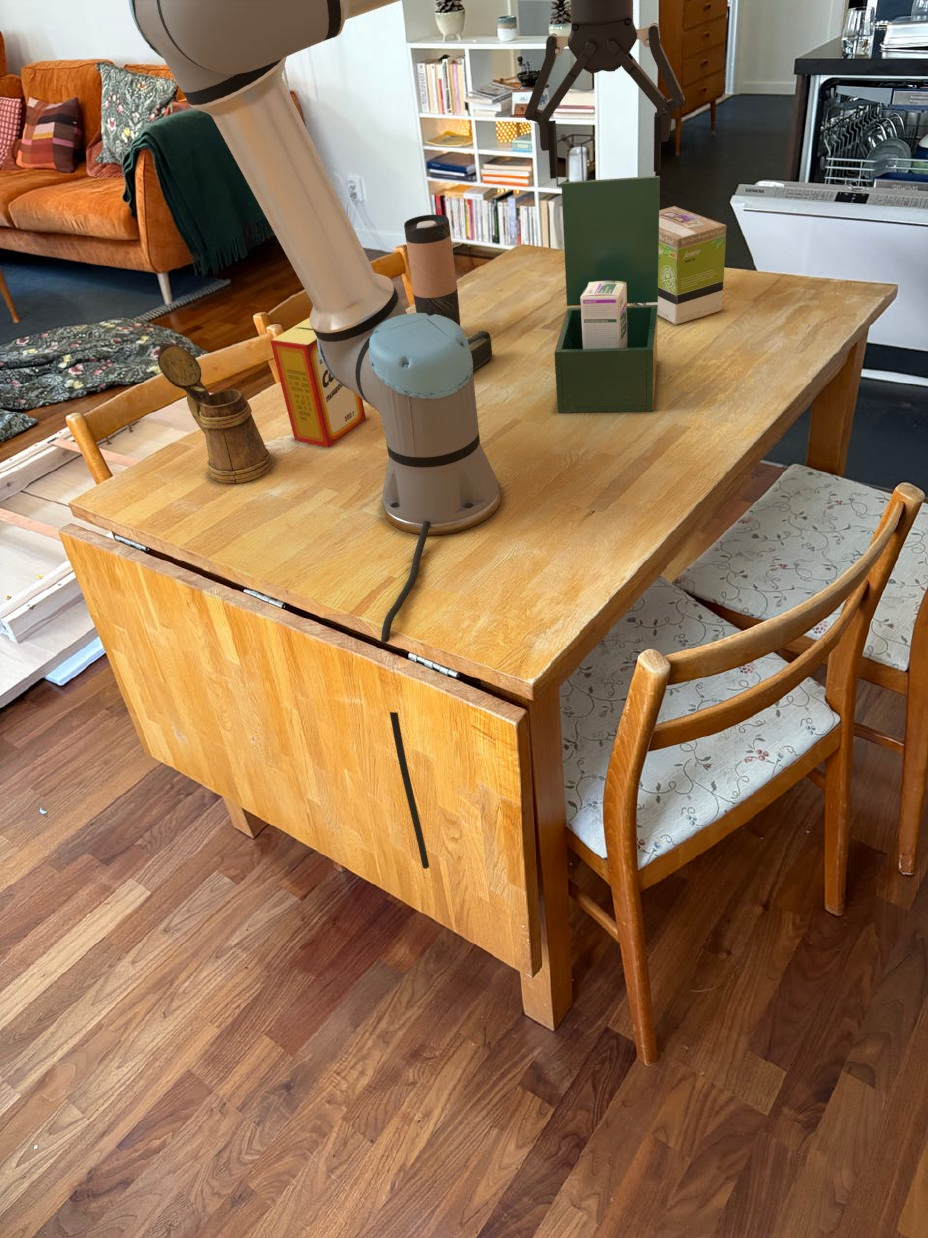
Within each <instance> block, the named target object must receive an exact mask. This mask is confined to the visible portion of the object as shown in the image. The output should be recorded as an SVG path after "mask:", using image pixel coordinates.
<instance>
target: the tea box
mask: <svg viewBox="0 0 928 1238" xmlns="http://www.w3.org/2000/svg"><path fill="white" fill-rule="evenodd" d="M727 226H728V225H727V224H724V223H721V222H718V221H716V220H713V219H711V218H708V217H705V216H702V215H700V214H696V213H694V212H691V211H689V210H686V209H683V208H680V207H678V206H676V205H673V206H669V207H666V208H663V209H659V263H658V302H654V303H636V304H637V305H658V316H660V317H661V318H663V319H665V320H667V321H668V322H670V323H672V324H673V325H675V326H676V325H680V324H683V323H686V322H689V321H693V320H696V319H700V318H703V317H705V316H709V315H712V314H714V313H718V312H721V311H722V310H723V299H724V281H725V280H724V279H725V262H726V261H725V260H726V245H727V244H726V243H727Z"/></svg>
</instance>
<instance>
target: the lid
mask: <svg viewBox="0 0 928 1238" xmlns="http://www.w3.org/2000/svg"><path fill="white" fill-rule="evenodd" d="M660 182H661V176H660V175H656V176H655V175H654V176H653V175H651V176H639V177H637V176H636V177H635V176H633V177H622V178H621V177H619V178H606V179H605V178H604V179H592V180H591V179H590V180H578V181H577V180H576V181H564V182H561V203H562V206H561V207H562V227H563V249H564V250H563V251H564V271H565V272H564V273H565V288H566V289H565V291H566V292H565V294H566V306H567V307H570V306H571V307H573V306H574V307H575V306H581V300H580V297H581V295H582V293H583V292H584V290H585V289H586V287H587V286H588V284H589V282H597V281H623V282H626V290H627V305H628V304H637V303H654V302H658V263H659V210H660V194H661V193H660V187H661V185H660V184H661V183H660Z"/></svg>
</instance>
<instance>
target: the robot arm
mask: <svg viewBox="0 0 928 1238" xmlns="http://www.w3.org/2000/svg"><path fill="white" fill-rule="evenodd" d="M400 1H401V0H128V6H129V10H130V14H131V17H132V20H133V23H134V24H135V26H136V29H137V31H138V33H139V34H140V36H141V37H142V39H143V40H144V42H145V43H146V44H147V45H148V46H149V48H150V49H151V50H152V51H153V52H154V53H155V54H156V55H157V56H159V57H160V58H161V59H163V60H164V62H165V64H166V65H167V67H168V69H169V71H170V73H171V74H172V76H173V78H174V80H175V81H176V84H177V86H178V87H179V89H180V91H181V93H182V94H183V96H184V98H185V100H186V101H187V104H188V105H189V107H191V108H192V109H194V110H197V111H200V112H203V113H206V114H208V115H210V116H211V118H212V119H213V122H214V123H215V125H216V127H217V129H218V131H219V132H220V135H221V136H222V138H223V139H224V142H225V144H226V145H227V147H228V149H229V151H230V153H231V155H232V157H233V158H234V161H235V162H236V164H237V166H238V168H239V169H240V171H241V173H242V175H243V177H244V179H245V180H246V183H247V185H248V186H249V188H250V190H251V192H252V193H253V196H254V197H255V199H256V201H257V203H258V205H259V207H260V208H261V211H262V212H263V215H264V216H265V218H266V220H267V221H268V224H269V225H270V228H271V230H272V231H273V233H274V234H275V236H276V238H277V241H278V242H279V244H280V246H281V248H282V250H283V251H284V253H285V255H286V257H287V259H288V261H289V263H290V264H291V266H292V269H293V270H294V272H295V274H296V276H297V277H298V279H299V281H300V282H301V285H302V287H303V289H304V291H305V292H306V295H307V297H308V298H309V300H310V301H311V304H312V308H311V310H310V314H309V317H308V318H309V322H310V325H311V327H312V329H313V331H314V333H315V334H316V336H317V345H318V351H319V354H320V357H321V359H322V361H323V363H324V365H325V367H326V368H327V370H328V371H329V373H330V374H331V375H332V376H333V377H334V379H335V380H337V381H338V382H339V383H340V384H341V385H343V386H344V387H346V388H348V389H350V390H351V391H353V392H354V393H355V394H357V395H358V396H359V397H360V398H362V400H363V402H365V403H367V404H368V405H369V406H370V407H372V409H374V410H375V411H376V412H378V413H379V415H380V418H381V423H382V427H383V428H382V429H383V433H384V440H385V444H386V451H387V456H388V460H387V465H386V471H385V477H384V483H383V489H382V499H381V502H382V507H383V513H384V517H385V518H386V520H387V521H388V522H389V523H390V524H391V525H392V526H394V527H395V528H397V529H399V530H401V531H404V532H407V533H411V534H416V535H419V536H418V539H417V543H416V546H415V550H414V554H413V558H412V563H411V568H410V573H409V575H408V579H407V581H406V583H405V585H404V587H403V589H402V590H401V591H400V592H399V593H400V594H399V595H398V596H397V598H396V600H395V602H394V603H393V605H392V607H391V608H390V609H389V611H388V612H387V613H386V616H385V618H384V621H383V625H382V629H381V637H380V638H381V639H380V641H381V643H382V644H386V643H388V642H389V640H390V637H391V636H390V635H391V628H392V626H393V625H392V624H393V621H394V620H395V617H396V616H397V614H398V613H399V611H400V610H401V608H402V607H403V605H404V603H405V601H406V600H407V598H408V596H409V594H410V593H411V591H412V590H413V588H414V586H415V584H416V581H417V578H418V574H419V572H420V571H419V570H420V563H421V559H422V555H423V551H424V548H425V545H426V541H427V538H428V535H429V536H434V535H446V534H453V533H457V532H461V531H464V530H467V529H470V528H473V527H475V526H477V525H479V524H480V523H482V522H484V521H485V520H487V519H488V518H489V517H491V516H492V515H493V514H494V513H495V512H496V510H497V509H498V507H499V505H500V503H501V491H500V490H501V489H500V483H499V480H498V478H497V475H496V473H495V471H494V469H493V467H492V464H491V463H490V461H489V459H488V456H487V454H486V453H485V450H484V449H483V446H482V443H481V438H480V431H479V430H480V429H479V417H478V410H477V398H476V391H475V390H476V389H475V381H474V371H473V360H472V354H471V352H470V349H469V344H468V339H467V338H468V336H467V334H466V332H465V331H464V330H463V328H462V327H460V326H461V325H460V326H459V325H458V324H457V323H455V322H454V321H452V320H451V319H449V318H446V317H443V316H440V315H436V314H434V315H432V316H428V314H427V313H416V312H412V313H411V312H410V313H408V312H407V310H406V308H405V306H404V304H403V302H402V298H401V297H400V294H399V293H398V291H397V289H396V287H395V284H394V282H393V281H392V279H391V278H390V277H389V276H386V275H383V274H379V273H376V272H375V270H374V268H373V267H372V263H371V261H370V260H369V258H368V256H367V254H366V252H365V251H366V250H365V249H364V246H363V245H362V243H361V241H360V239H359V237H358V235H357V232H356V231H355V227H354V226H353V224H352V222H351V220H350V217H349V215H348V214H347V212H346V209H345V207H344V205H343V203H342V201H341V198H340V196H339V195H338V192H337V190H336V188H335V186H334V184H333V182H332V180H331V178H330V175H329V174H328V172H327V171H328V170H327V169H326V167H325V165H324V163H323V161H322V159H321V156H320V154H319V152H318V150H317V148H316V146H315V143H314V142H313V139H312V138H311V135H310V134H309V131H308V129H307V127H306V125H305V123H304V121H303V119H302V116H301V114H300V112H299V110H298V108H297V106H296V104H295V102H294V100H293V98H292V95H291V93H290V91H289V89H288V87H287V85H286V83H285V81H284V79H283V72H284V69H285V65H286V61H287V57H289V56H291V55H295V54H296V53H298V52H301V51H303V50H305V49H309V48H311V47H313V46H315V45H318V44H320V43H322V42H326V41H328V40H331V39H334V38H337V37H338V36H339V35H341V33H342V31H343V29H344V27H345V23H346V21H347V20H349V19H352V18H356V17H358V16H361V15H363V14H367V13H369V12H372V11H375V10H377V9H381V8H384V7H386V6H389V5H392V4H394V3H397V2H400ZM569 4H570V26H571V27H570V33H569V35H558V34H557V33H555V32H553V33H550V34H549V35H548V37H547V38H546V39H545V57H544V59H543V62H542V65H541V68H540V71H539V73H538V77H537V78H536V82H535V85H534V87H533V90H532V91H531V95H530V98H529V100H528V103H527V107H526V109H525V112H524V114H523V115H524V119H525V120H526V121H532V122H535V123H536V124H537V125H538V128H539V130H538V131H539V145H540V149H541V151H542V152H545V151H548V162H549V179H550V180H551V179H553V180H554V179H557V176H558V174H559V161H558V140H557V122H556V121H557V120H551V117H552V116H553V114H554V113H555V111H556V110H557V108H558V107H559V106H560V104H561V103H562V101H563V99H564V98H565V97H566V95H567V93H568V92H569V91H570V89H571V88H572V86H573V85H574V83H575V82H576V80H577V78H578V77H579V76H580V75H581V73H582V71H583V70H584V71H585V72H587V73H589V74H597V73H600V72H602V71H604V72H608V73H611V72H616V71H617V70H618V69H621V67H622V69H623V70H624V71H625V72H626V73H627V74H628V75H629V76H630V77H631V79H632V80H633V81H634V83H635V84H636V85H637V86H638V88H640V91H642V92H643V93H644V95H645V96H646V97H647V99H648V100H649V101H650V102H651V103H652V104H653V106H654V107H655V108H656V110H657V111H656V112H655V111H654V115H653V172H654V173H657V172H661V171H660V170H661V143H665V142H669V140H670V136H671V135H670V134H671V133H670V132H671V114H672V113H673V112H674V111H675V110H678V109H681V108H683V107H684V105H685V100H686V98H685V94H684V92H683V90H682V88H681V86H680V83H679V80H678V79H677V76H676V74H675V72H674V70H673V68H672V66H671V64H670V60H669V59H668V56H667V54H666V52H665V50H664V48H663V45H662V43H661V34H660V26H659V24H658V23H657V22H653V23H651V24H650V25H649V26H644V27H641V28H636V26H635V23H634V0H570V3H569ZM637 40H640V41H641V42H642V45H643V47H645V48H649V51H650V53H651V55H652V58H653V60H654V62H655V65H656V67H657V69H658V71H659V73H660V75H661V78H662V80H663V82H664V85H665V87H666V89H667V91H668V93H669V96H670V97H671V98H668V99H667V97H666V96H665V95H664V93H662V92H661V90H660V89H659V88H658V87H657V85H656V84H655V83H654V81H653V80H652V79H651V78H650V77H649V75H648V74H647V73H646V71H644V69H643V67H641V65H640V64H639V63H638V61H637V60H636V58H635V57H634V55H632V53H631V51H632V49H633V48H634V46H635V44H636V42H637ZM566 47H568V49H569V51H570V52H571V53H572V55H573V56H574V57H575V59H576V60H575V62H574V63H573V65H572V66H571V67H570V69H569V71H568V72H567V74H566V75H565V77H564V79H563V80H562V81H561V83H560V84H559V86H558V87H557V89H556V91H555V92H554V94H553V95H552V96H551V98H550V100H549V101H548V103H547V104H546V106H545V107H544V108H543V110H542V109H539V106H540V102H541V100H542V98H543V95H544V93H545V90H546V87H547V85H548V82H549V79H550V76H551V73H552V71H553V69H554V66H555V63H556V60H557V57H559V56H561V55H562V54H563V52H564V49H565V48H566ZM389 715H390V716H389V717H390V722H391V728H392V733H393V739H394V745H395V749H396V754H397V760H398V764H399V765H398V766H399V769H400V774H401V779H402V782H403V786H404V791H405V796H406V800H407V804H408V808H409V812H410V816H411V817H410V818H411V821H412V825H413V830H414V833H415V839H416V842H417V847H418V852H419V857H420V860H421V866H422V868H423V869H424V870H427V869H429V868H430V863H429V858H428V854H427V848H426V844H425V840H424V834H423V830H422V825H421V820H420V816H419V813H418V812H419V811H418V807H417V803H416V799H415V798H416V797H415V794H414V790H413V786H412V781H411V776H410V771H409V768H408V762H407V757H406V752H405V748H404V741H403V736H402V730H401V724H400V718H399V712H397V711H395V712H393V711H389Z"/></svg>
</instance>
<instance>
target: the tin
mask: <svg viewBox="0 0 928 1238" xmlns="http://www.w3.org/2000/svg"><path fill="white" fill-rule="evenodd" d="M658 316H659V315H658V305H639V304H637V305H627V329H628V348H602V349H583V339H582V318H581V307H567V308H566V312H565V315H564V318H563V322H562V325H561V328H560V332H559V335H558V339H557V342H556V345H555V348H554V369H555V370H554V372H555V387H556V388H555V389H556V404H557V405H556V406H557V407H556V408H557V413H558V414H559V413H560V414H561V413H562V414H563V413H567V414H568V413H628V412H629V413H630V412H631V413H633V412H636V413H637V412H639V413H640V412H653V411H654V402H655V400H654V399H655V390H656V378H657V367H658V327H659V326H658V324H659V323H658V321H659V320H658V318H659V317H658Z"/></svg>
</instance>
